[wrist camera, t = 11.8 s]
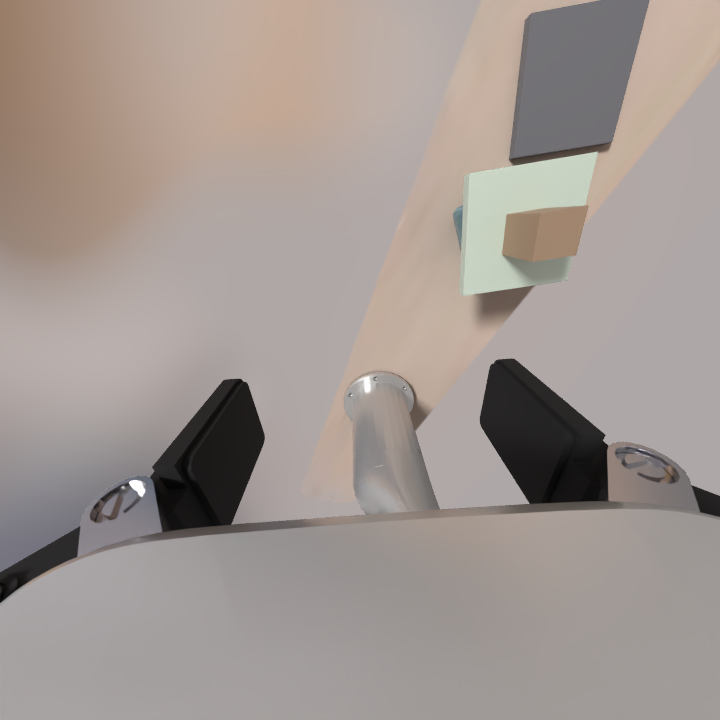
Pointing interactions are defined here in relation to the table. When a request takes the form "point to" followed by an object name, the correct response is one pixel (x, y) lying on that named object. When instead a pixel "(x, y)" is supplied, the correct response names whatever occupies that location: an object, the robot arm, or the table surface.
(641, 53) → the table surface
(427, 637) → the robot arm
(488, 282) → the lid
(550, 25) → the mat
